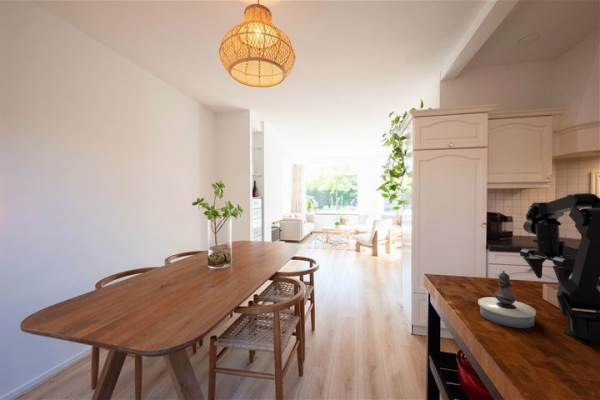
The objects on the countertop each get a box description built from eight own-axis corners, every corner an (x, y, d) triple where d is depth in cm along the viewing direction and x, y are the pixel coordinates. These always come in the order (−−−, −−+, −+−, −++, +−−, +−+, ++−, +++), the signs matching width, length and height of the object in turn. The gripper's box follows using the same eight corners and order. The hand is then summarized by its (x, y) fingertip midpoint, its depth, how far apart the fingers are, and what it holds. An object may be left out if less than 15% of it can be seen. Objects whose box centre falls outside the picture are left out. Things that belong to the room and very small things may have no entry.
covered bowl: (550, 329, 73) (549, 316, 73) (495, 327, 76) (495, 314, 76) (514, 308, 88) (514, 297, 88) (470, 307, 90) (469, 296, 90)
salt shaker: (497, 307, 80) (494, 272, 81) (493, 301, 86) (490, 267, 86) (520, 310, 78) (517, 273, 78) (514, 303, 83) (512, 269, 83)
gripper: (604, 241, 73) (607, 292, 73) (550, 233, 92) (553, 274, 91) (562, 241, 75) (565, 291, 75) (517, 234, 93) (520, 274, 93)
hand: (550, 282), depth 83 cm, fingers open, 9 cm apart
